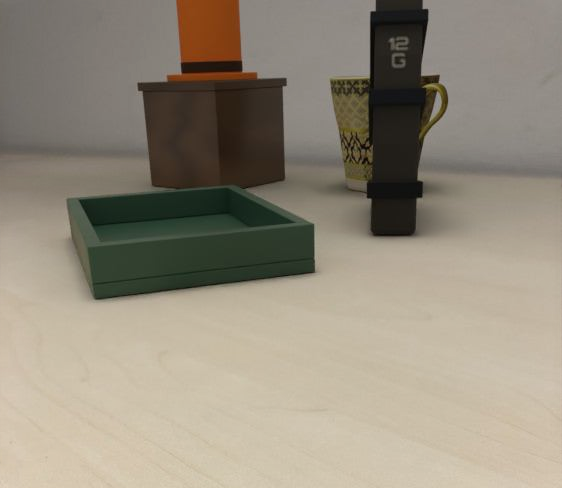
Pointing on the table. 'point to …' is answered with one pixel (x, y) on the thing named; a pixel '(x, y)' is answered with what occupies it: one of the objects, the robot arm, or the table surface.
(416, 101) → the magazine
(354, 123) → the ceramic cup
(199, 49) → the hat
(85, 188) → the table surface
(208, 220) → the tray
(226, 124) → the stand
